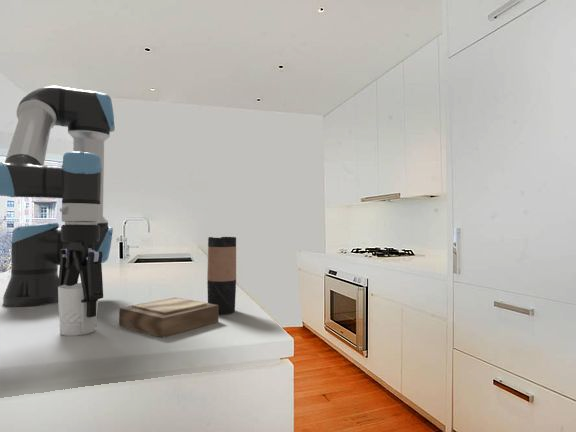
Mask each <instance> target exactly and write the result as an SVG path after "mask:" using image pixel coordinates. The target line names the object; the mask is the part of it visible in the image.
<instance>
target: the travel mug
mask: <svg viewBox="0 0 576 432" xmlns="http://www.w3.org/2000/svg"><path fill="white" fill-rule="evenodd" d="M207 241H208V242H207V280H206V281H207V283H206V285H207V288H206V289H207V303H210V304H215V305H219V316H223V315H231V314H234V313H235V312H236V296H237V295H236V293H237V237H236V236H221V237H213V236H208V237H207Z"/></svg>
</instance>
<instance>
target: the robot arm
mask: <svg viewBox="0 0 576 432" xmlns="http://www.w3.org/2000/svg"><path fill="white" fill-rule="evenodd" d="M114 116H115V115H114V108H113V103H112V98H111V97H110V95H109V94H107V93H103V92H98V91H97V90H87V89H79V88H72V87H71V88H70V87H64V86H58V85H49V86H43V87H40V88H37V89H35V90H32V91H31V92H29V93H28V94H27V95H25V96H24V97H23V98H22V99H21V100H20V101H19V103H18V106H17V109H16V117H17V123H16V126H15V129H14V133H13V134H12V135H13V136H12V139H11V142H10V144H9V148H8V151H7V155H6V158H5V160H4V161H1V162H0V197H10V198H49V199H61V207H60V208H59V212H61V222H63V223H64V224H62V225H61V226H60V224H59V222H49V223H39V224H31V225H21V226H17V227H15V228H14V229H13V231H12V236H11V242H10V245H11V266H10V267H11V268H10V269H11V270H10V273H11V275H10V279H9V282H8V285H7V286H6V289H5V291H4V293H3V297H2V300H3V301H2V305H4V306H6V307H7V306H8V307H30V306H41V305H42V306H43V305H49V304H54V303H58V287H59V286H61V285H67V286H73V285H75V284H77V283H79V277H80V283H82V288H83V295H84V299H83V300H81V302H82V318H81V333H82V334H84V333H88V334H90V333H89V332H91V333H93V332H96V331H97V330H96V329H97V318H96V302H97V300H98V301H99V300H100V299H103V298H104V284H103V283H104V282H103V267H102V266H103V265H102V264H104V263H106V262H107V261H108V259H109V257H110V252H111V246H112V239H113V231H114V229H113V227H112V226H109V221H108V220H107V219H106V218H105V217H104V184H105V183H104V179H105V178H104V174H105V170H104V169H105V168H104V167H105V141H107V140H108V139H109V138H110V135H111V134H110V133H111V132H114V131H115V128H116V127H115V117H114ZM55 126H58V127H65V128H67V133H68V134H69V136H70V137H72V140H73V143H72V144H73V146H72V147H73V151H68V152H65V153H64V154H63V156H62V157H63V158H62V164H61V166H59V165H45V158H46V154H47V150H48V144H49V140H50V139H49V138H50V134H51V129H53V128H54V127H55ZM58 269H59V271H58ZM84 335H85V334H84Z"/></svg>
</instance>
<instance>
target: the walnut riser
mask: <svg viewBox="0 0 576 432" xmlns="http://www.w3.org/2000/svg"><path fill="white" fill-rule="evenodd" d="M118 310H119V311H118V314H119V315H118V326H121V327H123V328H126V329H131V330H134V331H139V332H140V333H141V332H142V333H145V334H149V335H153V336H156V337H160V338H166V337H169V336H172V335H176V334H180V333H183V332H186V331H191V330H194V329H198V328H200V327H205V326H208V325H212V324H215V323H218V322H219V317H220V315H219V305H215V304H210V303H208V302H202V301H198V300H193V299H186V298H182V297H170V298H164V299H160V300H155V301H148V302H142V303H138V304H133V305H129V306H123V307H119V308H118Z"/></svg>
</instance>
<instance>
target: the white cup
mask: <svg viewBox="0 0 576 432" xmlns="http://www.w3.org/2000/svg"><path fill="white" fill-rule="evenodd" d="M83 299H84V295H83V288H82V283H81V282H78V283H77V284H75V285H73V286H67V285H61V286H59V287H58V302H57V303H58V319H59V334H60V335H62V336H67V337H74V336H82V335H87V334H91V333H92V332H89V333H84V334H82V333H81V318H82V302H81V300H83ZM98 305H99V299H98V300H97V302H96V319H97V317H98V309H99V308H98V307H99V306H98Z"/></svg>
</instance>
